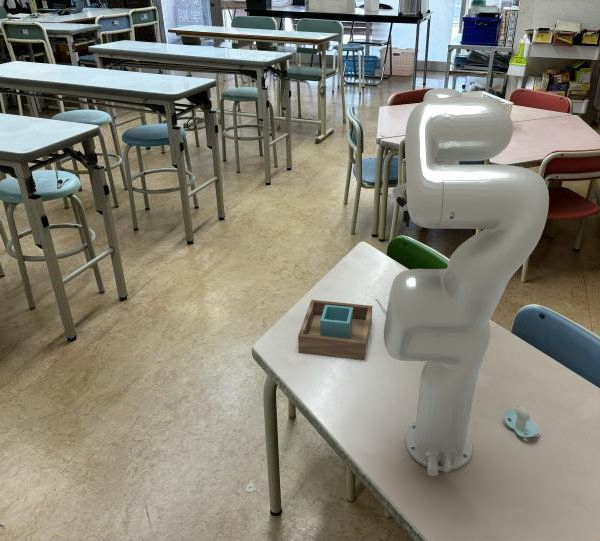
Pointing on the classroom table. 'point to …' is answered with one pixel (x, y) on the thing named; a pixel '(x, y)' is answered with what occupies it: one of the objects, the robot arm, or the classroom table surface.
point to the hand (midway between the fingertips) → (429, 226)
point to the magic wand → (381, 307)
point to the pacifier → (522, 423)
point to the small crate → (336, 321)
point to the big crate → (332, 346)
